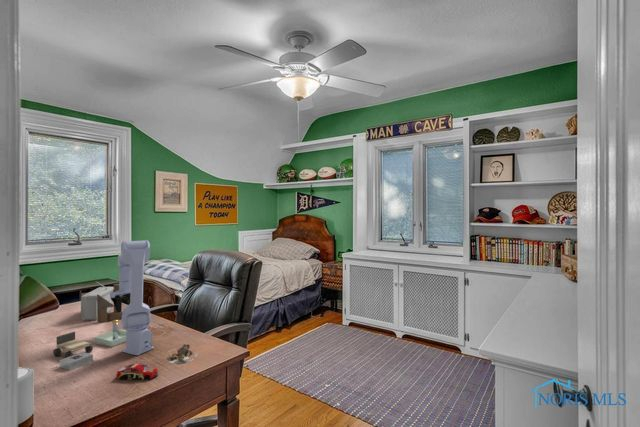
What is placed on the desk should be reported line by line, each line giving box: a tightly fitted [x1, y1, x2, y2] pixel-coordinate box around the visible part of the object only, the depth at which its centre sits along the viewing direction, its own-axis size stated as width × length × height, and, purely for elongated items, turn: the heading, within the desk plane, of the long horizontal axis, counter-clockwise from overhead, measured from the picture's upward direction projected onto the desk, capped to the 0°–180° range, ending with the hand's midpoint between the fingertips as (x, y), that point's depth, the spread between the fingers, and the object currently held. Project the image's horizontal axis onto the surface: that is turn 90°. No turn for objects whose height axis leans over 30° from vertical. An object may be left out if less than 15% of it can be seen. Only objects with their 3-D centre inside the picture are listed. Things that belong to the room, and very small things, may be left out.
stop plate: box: [59, 351, 94, 371], centre depth 127 cm, size 6×8×2 cm
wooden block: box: [96, 283, 123, 324], centre depth 176 cm, size 4×11×18 cm, turn 134°
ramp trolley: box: [52, 331, 94, 358], centre depth 136 cm, size 10×9×7 cm
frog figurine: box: [167, 343, 198, 365], centre depth 133 cm, size 12×12×4 cm
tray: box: [94, 328, 126, 348], centre depth 150 cm, size 11×11×2 cm
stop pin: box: [112, 319, 119, 340], centre depth 149 cm, size 2×2×8 cm
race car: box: [115, 363, 159, 381], centre depth 118 cm, size 13×5×4 cm, turn 90°
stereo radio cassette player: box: [80, 281, 114, 322], centre depth 185 cm, size 21×8×20 cm, turn 10°
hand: (126, 309), depth 160 cm, fingers open, 7 cm apart
